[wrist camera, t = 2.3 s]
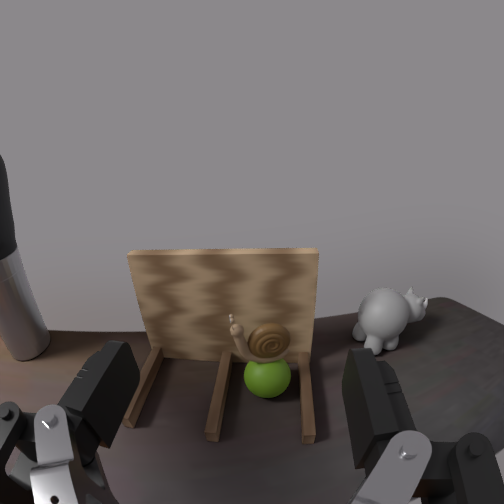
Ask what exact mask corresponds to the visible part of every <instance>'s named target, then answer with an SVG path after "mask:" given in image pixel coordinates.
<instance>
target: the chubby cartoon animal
mask: <svg viewBox="0 0 504 504" xmlns="http://www.w3.org/2000/svg"><path fill="white" fill-rule="evenodd" d="M423 301H424V297H421V298H420V297H419V296H417V295H416V294H414V293H413V287H411V288H410V289H409V290H408V292H407V294H406V295H404V296H402V295H401V294H400V293H399V292H398V291H396V290H394V289H390V288H379V289H376V290H374V291H372V292H370V293H369V294H368V295H367V296H366V297H365V298H364V299H363V301H362V302H361V304H360V307H359V311H358V321H359V322H358V323H357V324H356V325H355V327H354V329H353V332H352V336H353V338H354V339H356V340H358V341H365V344H364V348H371V349H372V351H373V353H374V355H378V354H379V353H380V352H381V350H382V348H384V349H386V350H394V349H395V348H396V347H397V345H398V341H399V334H400V333H401V332H402V331H403V330H404V328H405V327H406V325H407V323H412V322H415V321H420V320H422V319H423V317H424V315H425V313H426V312H425V309H426V307H427V303H428V300H427V299H426V300H425V302H424V303H423Z"/></svg>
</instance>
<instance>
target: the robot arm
mask: <svg viewBox="0 0 504 504" xmlns="http://www.w3.org/2000/svg"><path fill="white" fill-rule="evenodd" d="M0 335H1V337H2V339H3V341H4V343H5V345H6V347H7V349H8V350H9V351H10V353H11V355H12V356H13V358H15V359H17V360H21V361H23V360H29V359H32V358H34V357H36V356H38V355H39V354H41V353H42V352H43V351H44V350H45V349H46V348H47V346H48V345H49V343H50V334H49V332H48V330H47V328H46V326H45V323H44V321H43V319H42V316H41V313H40V311H39V309H38V306H37V304H36V301H35V299H34V296H33V293H32V290H31V288H30V285H29V282H28V279H27V276H26V274H25V270H24V267H23V264H22V261H21V258H20V254H19V251H18V247H17V244H16V240H15V230H14V221H13V215H12V210H11V204H10V197H9V187H8V179H7V172H6V168H5V164H4V161H3V159H2V157H1V155H0ZM139 382H140V371H139V368H138V366H137V363H136V361H135V358H134V356H133V353H132V350H131V347H130V345H129V344H128V343H127V342H120V341H112V340H109V341H108V342H107V343H106V344H105V345H104V347H103V348H102V350H101V351H97V352H96V353H95V354H93V355H92V356H91V357H90V358H88V359H87V361H86V362H85V364H84V365H83V367H82V370H80V371H79V373H78V374H77V377H75V378H74V380H73V381H72V383H71V384H70V386H69V387H68V389H67V391H66V392H65V394H64V395H63V397H62V398H61V400H60V401H59V403H58V404H57V405H47V406H45V407H43V408H41V409H40V410H39V411H38V412H37V413H27V412H22V411H21V410H20V408H19V407H18V406H17V404H15V403H14V402H5V403H3V404H1V405H0V504H119V503H118V501H117V500H116V499H115V497H114V496H113V494H112V492H111V490H110V487H109V485H108V482H107V479H106V476H105V473H104V470H103V467H102V464H101V461H100V457H99V454H98V452H97V451H96V450H97V448H98V446H102V447H105V448H109V449H110V447H111V444H112V442H113V440H114V438H115V435H116V433H117V431H118V429H119V426H120V424H121V422H122V420H123V418H124V415H125V413H126V411H127V409H128V407H129V405H130V402H131V400H132V398H133V396H134V394H135V392H136V390H137V388H138V385H139ZM398 382H399V381H398V379H397V376H396V374H395V371H394V369H393V368H392V367H391V366H390V365H389V364H388V363H387V362H386V361H377V362H376V359H375V356H374V353H373V351H372V349H371V348H359V349H350V350H349V352H348V356H347V361H346V365H345V370H344V374H343V379H342V394H343V400H344V405H345V411H346V416H347V422H348V428H349V433H350V439H351V446H352V452H353V459H354V465H355V469H360V468H365V473H366V477H365V479H364V480H363V482H362V483H361V485H360V486H359V488H358V489H357V490H356V492H355V493H354V495H353V496H352V497H351V499H350V500H349V502H348V503H347V504H408V503H409V501H410V499H411V497H421V502H422V504H504V484H503V480H502V476H501V473H500V470H499V467H498V463H497V460H496V457H495V454H494V451H493V448H492V446H491V443H490V441H489V440H488V439H487V437H485V436H484V435H482V434H480V433H468V434H466V435H464V436H463V437H462V438H461V439H460V440H459V441H458V442H433V441H430V440H429V439H428V438H427V437H426V436H425V435H423V434H422V433H420V432H418V431H417V430H416V428H415V425H414V422H413V420H412V417H411V414H410V411H409V408H408V405H407V403H406V400H405V397H404V394H403V393H402V389H401V386H400V384H399V383H398ZM15 446H16V447H17V448H18V449H19V450H20V451H21V453H20V455H19V457H18V459H17V461H16V463H15V465H14V468H13V470H12V472H11V474H10V475H9V476H7V474H6V472H5V465H6V463H7V461H8V459H9V457H10V455H11V453H12V451H13V449H14V447H15Z"/></svg>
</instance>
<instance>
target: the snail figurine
mask: <svg viewBox="0 0 504 504" xmlns="http://www.w3.org/2000/svg"><path fill="white" fill-rule="evenodd" d="M229 319H230V323H231V324H232V323H234V322H235V319H234V315H233V314H230V315H229ZM230 331H231V335H232V336H233V338H234V341H235V343H236V346H237V348H238V350H239V352H240V353H241V355H242V356H243V357H244V358H245V359H247V360H249V363H248V364H247V366H246V368H245V371H244V381H245V384H246V386H247V388H248V389H249V390H250V391H251V392H252V393H253V394H255V395H256V396H259V397H262V398H272V397H276V396H278V395H280V394H281V393H283V392H284V391H285V390H286V388H287V387H288V385H289V383H290V379H291V372H290V368H289V366H288V364H287V363H286V361H285V360H284V359H283V357H284V356H285V355H287V353H288V352H289V349H287V348H288V346H289V344H290V340H291V337H290V333H289V331H288V330H287V329H286V328H285V327H284V326H282V325H280V324H276V323H268V324H264V325H261V326H259V327H257V328H256V329H255V330H253V332H252V333H251V334H250V336H249V338H248V343H247V342H246V340H245V337H244V328H243V326H242V325H240V324H234V325H233V324H232V326H231V328H230Z"/></svg>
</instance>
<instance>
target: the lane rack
mask: <svg viewBox="0 0 504 504" xmlns="http://www.w3.org/2000/svg"><path fill="white" fill-rule="evenodd" d="M127 258H128V263H129V267H130V272H131V276H132V280H133V284H134V288H135V292H136V296H137V300H138V304H139V308H140V311H141V315H142V318H143V322H144V325H145V329H146V332H147V335H148V339H149V342H150V345H151V348H152V350H151V352H150V354H149V356H148V358H147V360H146V362H145V364H144V366H143V368H142V370H141V372H140V382H139V385H138V388H137V390H136V392H135V394H134V396H133V398H132V400H131V402H130V405H129V407H128V409H127V411H126V413H125V415H124V418H123V420H122V423H123V424H124V426H125V427H130V428H134V427H135V424H136V422H137V419H138V417H139V414H140V412H141V410H142V407H143V405H144V403H145V400H146V398H147V395H148V393H149V391H150V388H151V386H152V384H153V382H154V379H155V377H156V375H157V372H158V370H159V368H160V365H161V363H162V361H163V359H164V357H166V358H176V359H188V360H201V361H217V362H220V365H219V369H218V374H217V378H216V382H215V387H214V391H213V396H212V400H211V404H210V409H209V413H208V418H207V422H206V427H205V431H204V433H205V436H206V439H207V441H212V442H218V441H219V436H220V430H221V425H222V419H223V414H224V408H225V403H226V397H227V391H228V386H229V380H230V375H231V369H232V364H233V362H241V363H249V360H247V359H245V358H244V357H243V356H242V355H241V353H240V352H239V350H238V348H237V346H236V343H235V341H234V338H233V336H232V335H231V331H230V328H231V326H232V324H233V325H234V324H240V325H242V326H243V328H244V337H245V340H246V342H247V343H248V338H249V336H250V334H251V333H252V332H253V330H255V329H256V328H257V327H259V326H261V325H264V324H268V323H276V324H280V325H282V326H284V327H285V328H286V329H287V330H288V331H289V333H290V337H291V340H290V344H289V346H288V348H287V349H289V352H288V353H287V355H285V356H284V357H283V359H284V360H285V361H286V363H298V372H299V389H300V407H301V428H302V444H314V440H315V436H316V431H315V419H314V407H313V397H312V386H311V377H310V367H309V362H310V355H311V346H312V336H313V326H314V314H315V302H316V290H317V276H318V258H319V253H318V250H317V248H269V249H268V248H267V249H190V250H189V249H185V250H132V251H131V252H130V253H129V254H127ZM230 314H233V315H234V319H235V322H234V323H232V324H231V323H230V319H229V315H230Z"/></svg>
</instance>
